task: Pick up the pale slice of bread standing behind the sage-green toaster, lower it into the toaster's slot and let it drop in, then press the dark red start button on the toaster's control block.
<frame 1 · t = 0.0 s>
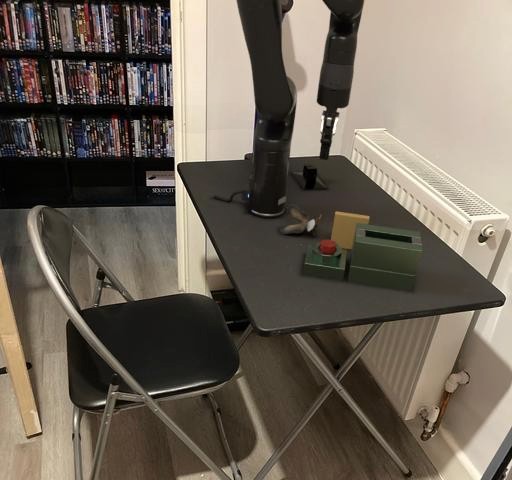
hand: (325, 153, 140), 17 cm above the table, tool pointing down, fingers open, 8 cm apart
toaster: (379, 276, 129), on the table
start button: (327, 246, 127), point 5 cm above the table, slide at 0.1 cm
toast: (346, 247, 139), on the table
eagle figurine: (299, 233, 143), on the table
black block on base: (308, 181, 170), on the table
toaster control: (324, 267, 130), on the table
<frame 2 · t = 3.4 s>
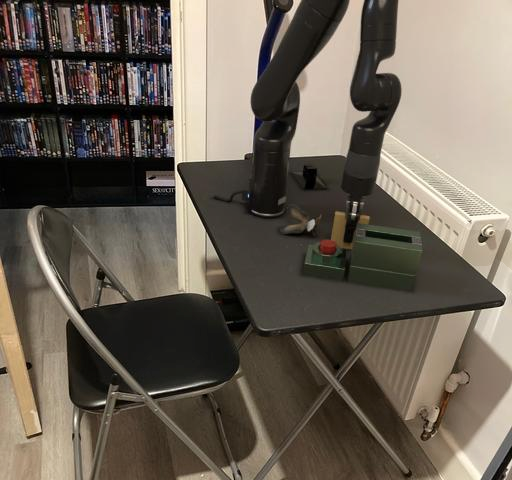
hand: (347, 239, 137), 2 cm above the table, tool pointing down, fingers closed on toast, 1 cm apart
toast: (346, 247, 139), on the table, touching gripper
everything else where it was.
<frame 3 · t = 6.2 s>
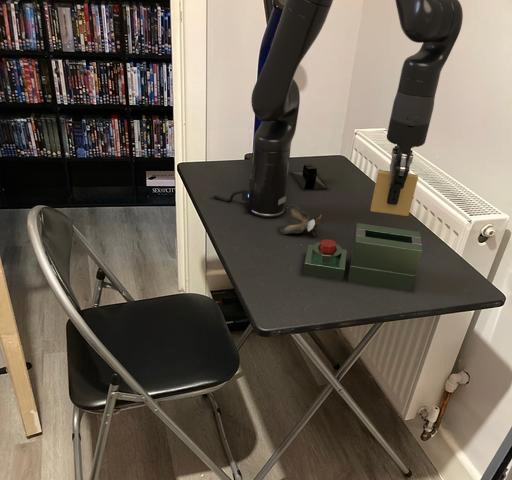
hand: (391, 201, 120), 17 cm above the table, tool pointing down, fingers closed on toast, 1 cm apart
toast: (389, 212, 121), point 15 cm above the table, touching gripper
everything else where it was.
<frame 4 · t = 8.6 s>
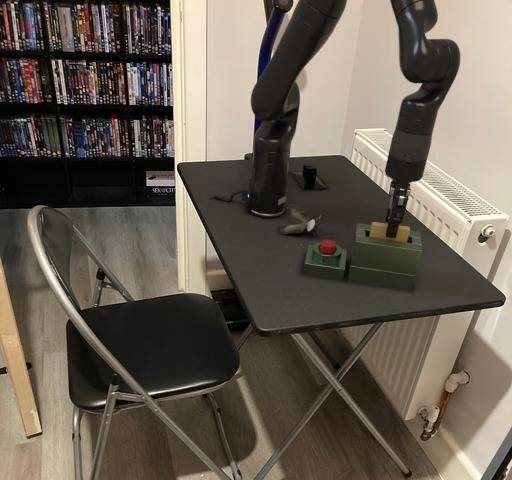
hand: (390, 229, 122), 12 cm above the table, tool pointing down, fingers open, 6 cm apart
toast: (382, 260, 126), point 4 cm above the table, touching toaster
everything else where it was.
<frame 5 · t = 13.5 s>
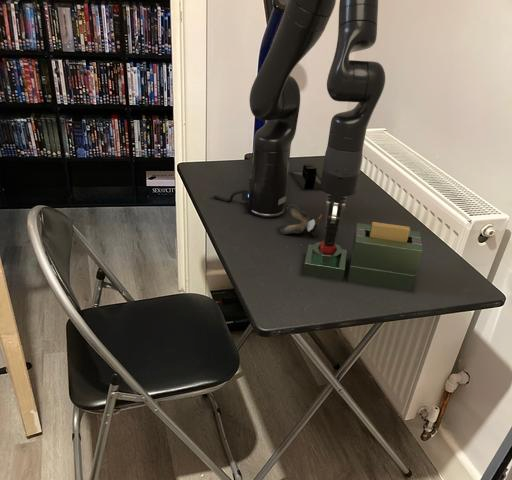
hand: (329, 244, 126), 6 cm above the table, tool pointing down, fingers closed
start button: (327, 247, 127), point 5 cm above the table, slide at -0.1 cm, touching gripper
everything else where it was.
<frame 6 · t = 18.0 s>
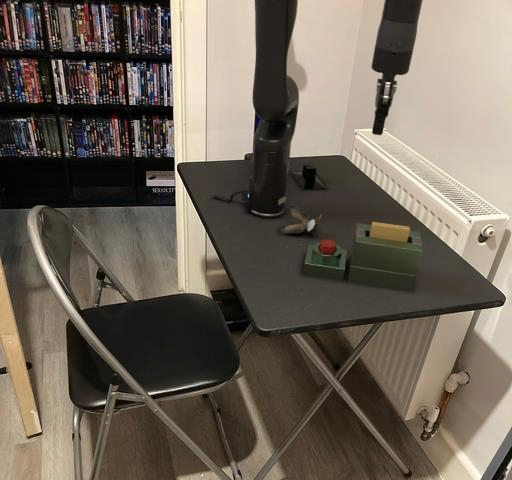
hand: (376, 133, 123), 27 cm above the table, tool pointing down, fingers closed
start button: (327, 246, 127), point 5 cm above the table, slide at 0.1 cm
everything else where it was.
at the end: toast 0.0 cm off-centre on the toaster, point 4.0 cm above the toaster's base; start button pushed in 1.1 cm at the most during the clip, back to where it started at the end; start button slide at 0.1 cm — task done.
